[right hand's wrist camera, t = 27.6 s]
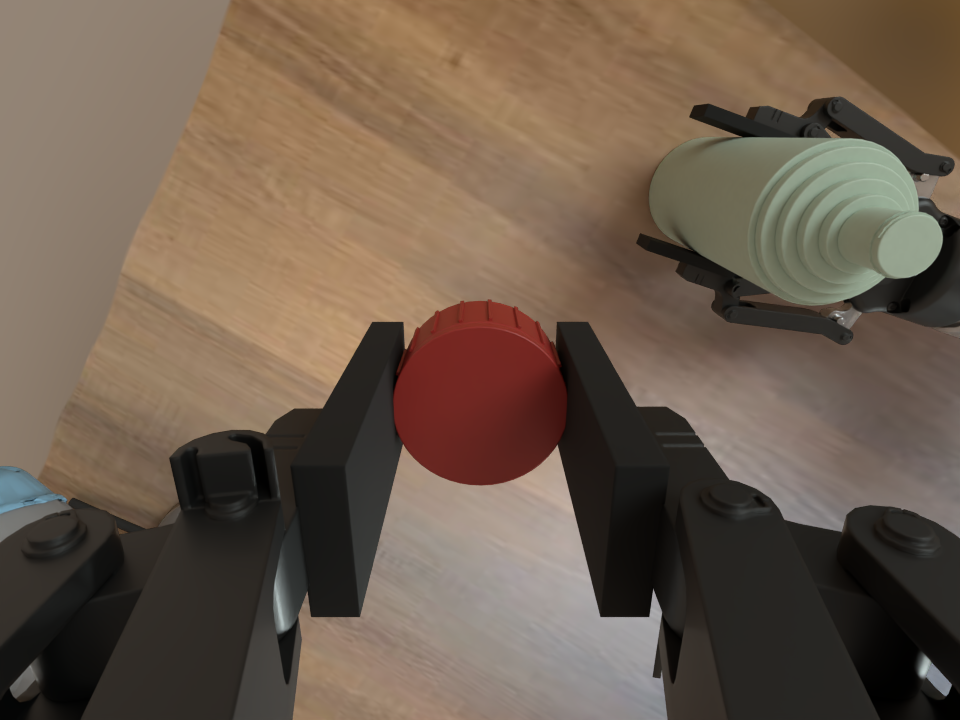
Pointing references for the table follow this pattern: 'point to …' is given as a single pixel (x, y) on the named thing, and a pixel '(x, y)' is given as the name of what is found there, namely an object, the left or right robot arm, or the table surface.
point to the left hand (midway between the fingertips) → (670, 178)
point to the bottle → (796, 213)
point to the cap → (480, 394)
